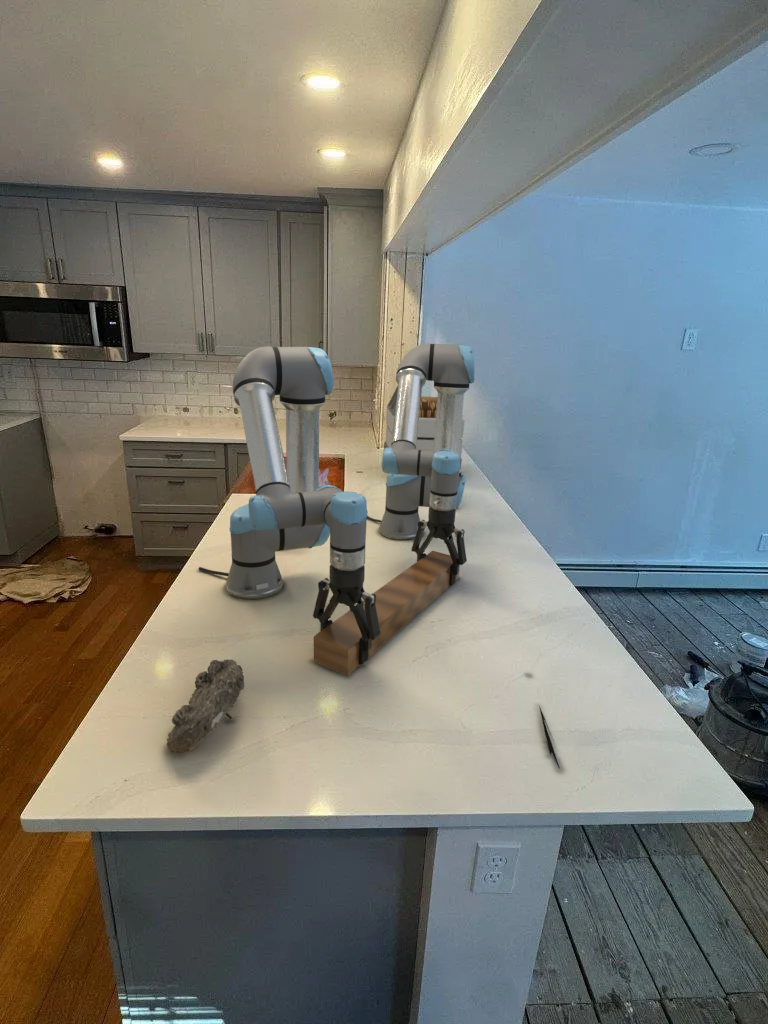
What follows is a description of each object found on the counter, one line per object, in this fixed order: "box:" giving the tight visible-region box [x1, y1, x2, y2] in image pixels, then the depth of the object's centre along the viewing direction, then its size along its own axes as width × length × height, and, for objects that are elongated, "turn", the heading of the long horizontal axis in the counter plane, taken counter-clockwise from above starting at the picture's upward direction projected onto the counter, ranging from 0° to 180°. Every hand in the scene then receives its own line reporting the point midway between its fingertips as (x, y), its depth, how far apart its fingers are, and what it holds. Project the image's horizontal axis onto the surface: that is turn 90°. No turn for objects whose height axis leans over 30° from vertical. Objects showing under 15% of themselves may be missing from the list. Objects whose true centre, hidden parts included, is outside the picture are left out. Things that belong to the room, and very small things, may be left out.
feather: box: [528, 673, 561, 769], centre depth 112 cm, size 2×28×2 cm
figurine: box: [319, 467, 330, 488], centre depth 222 cm, size 9×10×15 cm
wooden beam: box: [313, 550, 461, 677], centre depth 146 cm, size 58×9×7 cm, turn 149°
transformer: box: [383, 385, 465, 470], centre depth 268 cm, size 34×33×41 cm
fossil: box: [166, 658, 245, 754], centre depth 106 cm, size 22×10×15 cm
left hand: (345, 654), depth 129 cm, fingers closed on wooden beam, 9 cm apart
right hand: (436, 579), depth 166 cm, fingers closed on wooden beam, 9 cm apart
